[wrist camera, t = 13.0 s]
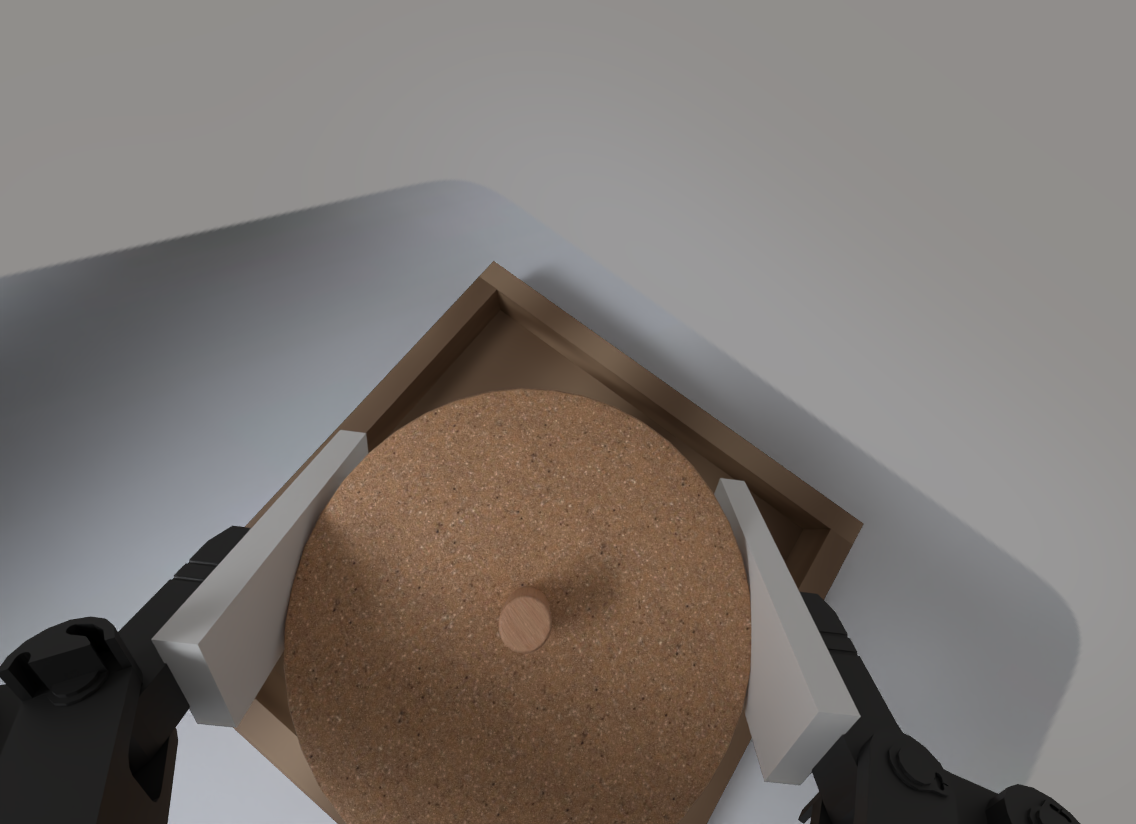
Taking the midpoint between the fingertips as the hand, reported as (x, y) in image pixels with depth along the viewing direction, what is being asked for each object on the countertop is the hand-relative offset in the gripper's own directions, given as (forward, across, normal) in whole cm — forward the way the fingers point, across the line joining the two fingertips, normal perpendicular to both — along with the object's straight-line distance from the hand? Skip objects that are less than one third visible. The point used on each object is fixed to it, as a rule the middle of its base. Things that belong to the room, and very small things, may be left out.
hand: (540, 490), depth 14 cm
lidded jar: (+1, 0, -6) cm, 6 cm away
